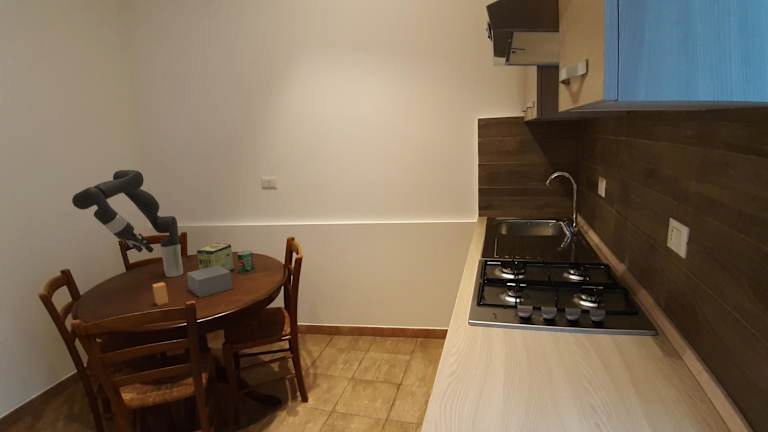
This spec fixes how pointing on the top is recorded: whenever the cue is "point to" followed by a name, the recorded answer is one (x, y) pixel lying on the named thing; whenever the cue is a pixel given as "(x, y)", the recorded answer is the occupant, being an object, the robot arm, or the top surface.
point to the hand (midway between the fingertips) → (146, 251)
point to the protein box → (216, 256)
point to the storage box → (209, 281)
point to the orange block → (160, 293)
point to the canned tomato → (245, 262)
